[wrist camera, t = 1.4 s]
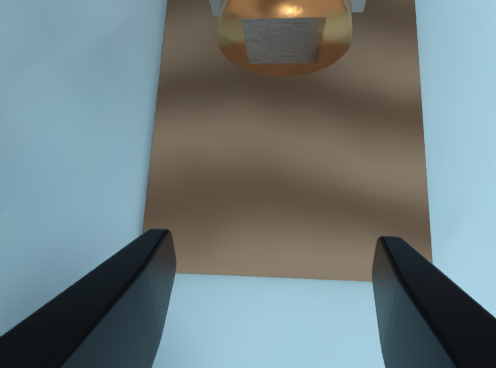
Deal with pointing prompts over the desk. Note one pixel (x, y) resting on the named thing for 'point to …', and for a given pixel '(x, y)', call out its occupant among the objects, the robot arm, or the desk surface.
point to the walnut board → (289, 152)
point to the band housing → (357, 4)
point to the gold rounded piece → (284, 34)
